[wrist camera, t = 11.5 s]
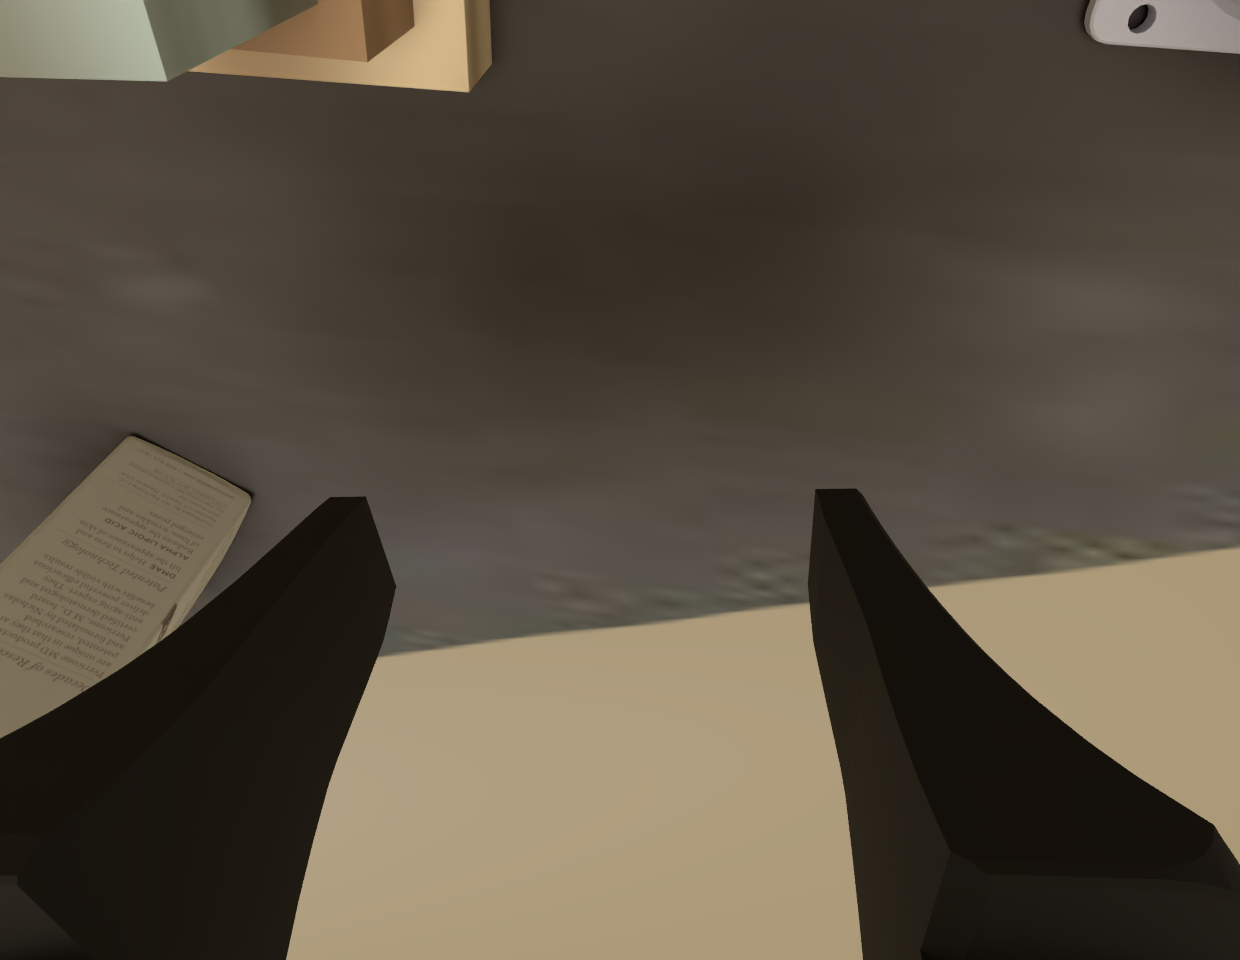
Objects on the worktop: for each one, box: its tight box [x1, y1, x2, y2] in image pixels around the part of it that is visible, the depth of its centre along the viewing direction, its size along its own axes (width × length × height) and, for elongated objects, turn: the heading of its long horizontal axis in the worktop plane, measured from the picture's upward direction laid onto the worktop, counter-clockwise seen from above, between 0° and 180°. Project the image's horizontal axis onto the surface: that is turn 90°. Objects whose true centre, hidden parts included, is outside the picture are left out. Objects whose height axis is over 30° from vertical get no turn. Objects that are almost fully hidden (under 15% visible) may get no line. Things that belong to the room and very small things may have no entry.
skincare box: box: [0, 436, 251, 738], centre depth 24 cm, size 6×4×12 cm
